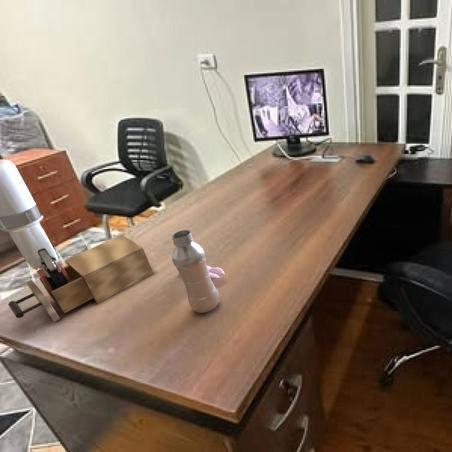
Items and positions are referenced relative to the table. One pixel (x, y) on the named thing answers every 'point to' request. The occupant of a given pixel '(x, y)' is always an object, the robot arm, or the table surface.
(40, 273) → the block
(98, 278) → the cabinet
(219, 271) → the rabbit figure
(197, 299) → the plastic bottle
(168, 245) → the table surface
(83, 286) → the drawer
